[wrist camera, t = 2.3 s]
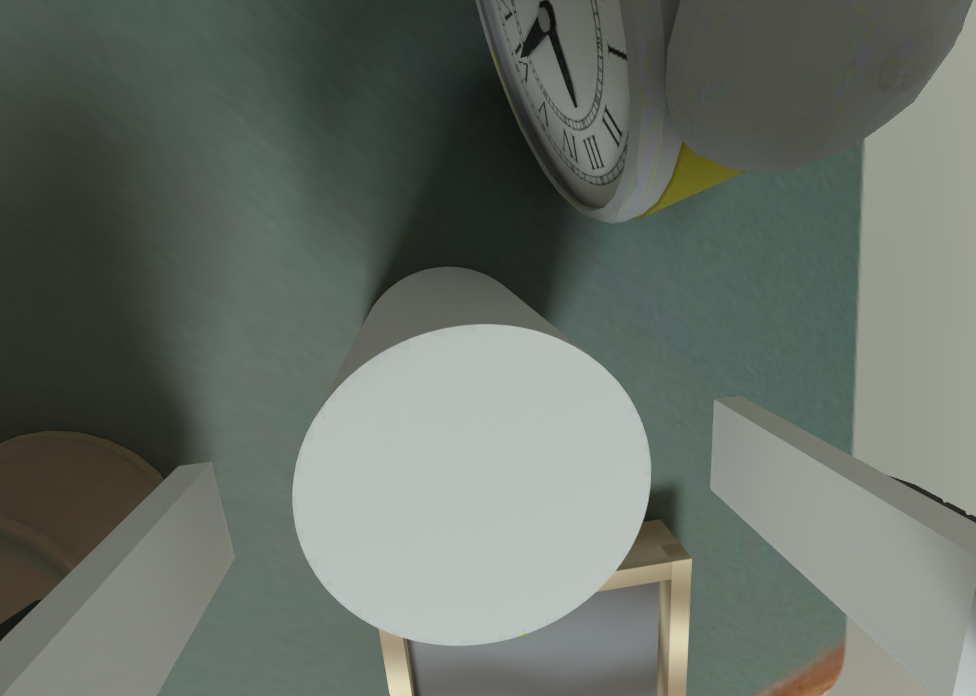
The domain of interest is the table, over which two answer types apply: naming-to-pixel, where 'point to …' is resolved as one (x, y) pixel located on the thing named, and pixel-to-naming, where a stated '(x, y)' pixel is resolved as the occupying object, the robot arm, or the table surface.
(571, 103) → the alarm clock
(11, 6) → the table surface
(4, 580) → the binoculars
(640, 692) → the square picture frame
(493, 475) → the white cylinder
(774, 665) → the table surface
